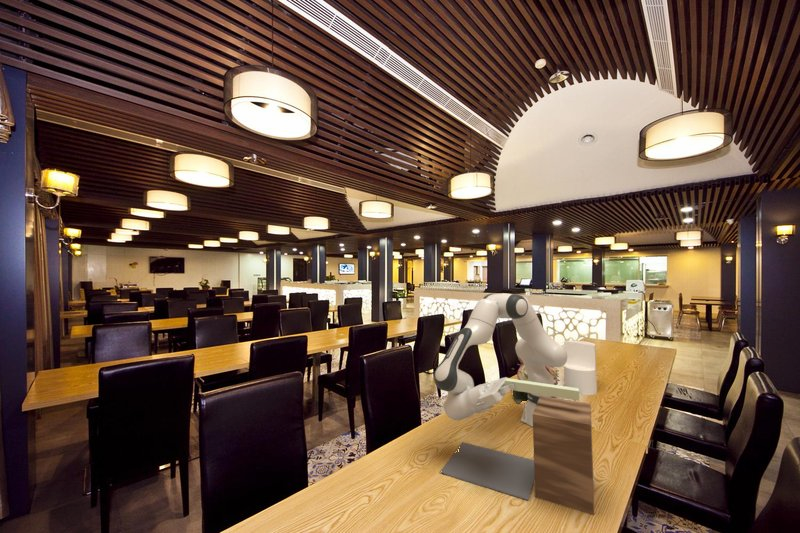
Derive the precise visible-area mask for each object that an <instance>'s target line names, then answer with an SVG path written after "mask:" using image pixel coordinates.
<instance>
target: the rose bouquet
mask: <svg viewBox="0 0 800 533" xmlns="http://www.w3.org/2000/svg"><path fill="white" fill-rule="evenodd" d="M516 356H517V358H518V360H519V363H517V365H518V366H519V368H518V370H517V373H516V375H517V376H516V378H517V380H523V381H528V374H527V371H526V368H525V365H524V363H523V361H522V360H521V358H520V357H519V356H518V355H517V354H516ZM517 365H516V366H517ZM507 367H508V366H507ZM545 367H546V369H547V371H548V372H549V373H550V374H551V375H552V376H553V379H554V385H559V382H560V381H561V380H560V379H559V377H560V373H558V372H559V371H560V370H559V369H558V367H549V366H545ZM511 370H515V368H514V367H511ZM512 393H513V395H512V398H513V400H514V401H515V402H516V403H517V404H518V403H521V402H522V401H527V400H528V393H527V392H521V391H515V390H513V392H512Z"/></svg>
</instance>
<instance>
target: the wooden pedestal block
mask: <svg viewBox="0 0 800 533" xmlns="http://www.w3.org/2000/svg"><path fill="white" fill-rule="evenodd" d="M591 406H592V405H591V403H589V402H582V401H578V400H571V399H565V398H559V397H556V398H552V397H545V396H540V397H539V400H538V402H537V405H536V407H535V409H534V412H533V427H532V438H533V460H534V477H535V479H534V498H537V499H540V500H544V501H547V502H550V503H554V504H556V505H559V506H563V507H566V508H570V509H572V510H576V511H579V512H582V513H586V514H589V515H593V516H594V515H595V503H594V502H595V500H594V496H595V495H594V492H595V491H594V488H595V487H594V486H595V485H594V457H593V456H594V454H593V433H592V432H593V431H592V407H591Z"/></svg>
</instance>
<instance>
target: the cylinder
mask: <svg viewBox="0 0 800 533" xmlns="http://www.w3.org/2000/svg"><path fill="white" fill-rule="evenodd" d="M563 345H564V346H563V347H564V348H565V349H566V351H567V355H568V358H567V362H566V363H565V365H563V377H564V378H563V380H564V381H563V382H564V385H563V386H566V387H573V388H579V395H582V396H593V395H596V394H597V393H598V385H597V384H598V383H597V382H598V380H597V379H598V378H597V358H596V357H597V355H596V350H597V349H596V344H595V343H593V342H592V341H591V342H590V341H586V340H565V341H563Z"/></svg>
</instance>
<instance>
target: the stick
mask: <svg viewBox="0 0 800 533" xmlns="http://www.w3.org/2000/svg"><path fill="white" fill-rule="evenodd" d="M511 383H514V385H515V389H513V390H515V391H521V392H527V393H533V394H540V395H546V396H552V397H556V398H558V399H564V400H571V401H577V402H580V394H579V388H573V387H566V386H564V385H559V384H557V385H552V384H545V383H538V382H531V381H523V380H518V379H517V378H510V377H507V379H506V380H505V386H507V385H509V384H511Z"/></svg>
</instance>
